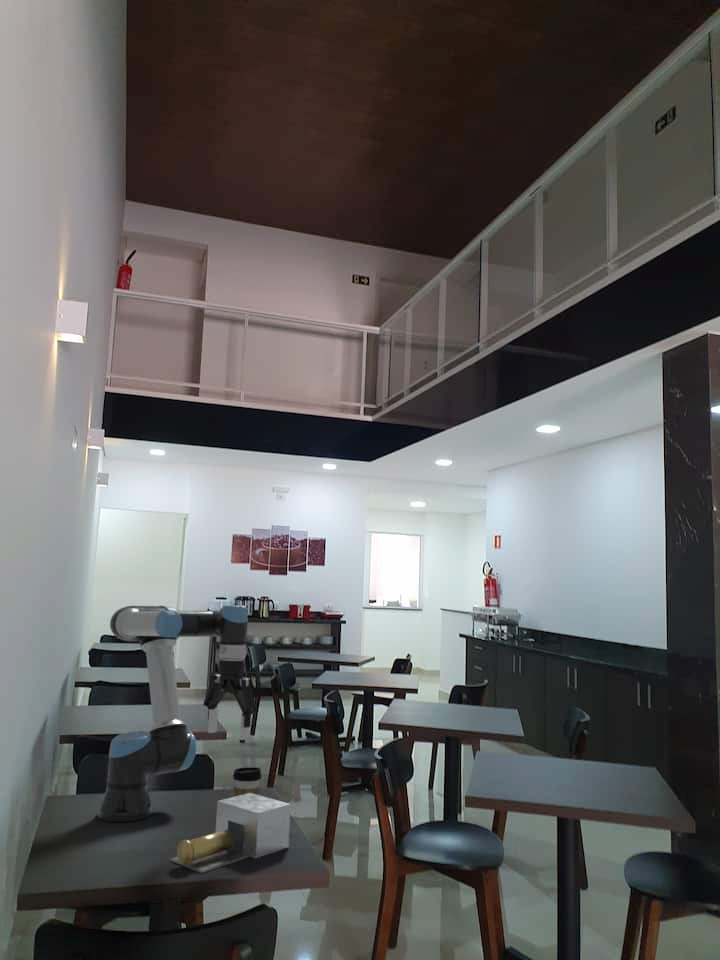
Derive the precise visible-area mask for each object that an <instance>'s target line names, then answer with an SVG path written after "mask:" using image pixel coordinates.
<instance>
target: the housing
mask: <svg viewBox="0 0 720 960" xmlns="http://www.w3.org/2000/svg"><path fill="white" fill-rule="evenodd" d="M290 822H291V803H288V802H284V801H281V800H277V799H274V798H271V797H267V796H263V795H261V794H258V795H256V794H253V793H247V794H243V795H239V796H235V797H234V796H232V797H228V798H224V799H220V800H217V802H216V820H215V833H216V832H219V831H223V830H229V831H230V832H231V834H232V836H233V845H232V847H231V848H230V849H229V850H226V851H222V852H219V853H216V854H213V855H210V856H207V857H204V858H200V859H197V860H194V861H192V862H191V863H190V864H188V865H183V864H181V863H180V861H179V859H178V856H174V857H170V862H172V863H174V864H177V865H180V866H182V867H184V868H187V869H190V870H192V871H194V872H197V873H199V874H204V873H207V872H210V871H213V870H216V869H217V868H222V867H224V866H227V865H231V864H233V863H235V862H238V861H241V860H245V859H248V858H254V859H258V857H259V858H262V857H264V855H265V856H267V854H268V855H270V853H271V854H274V853H276V852H279V851H282V850H284V849H287V848H290V825H291V824H290ZM261 856H262V857H261Z"/></svg>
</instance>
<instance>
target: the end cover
mask: <svg viewBox="0 0 720 960" xmlns="http://www.w3.org/2000/svg"><path fill="white" fill-rule="evenodd" d="M232 845H233V836H232V834H231V832H230V831H229V830H223V831H219V832H216V831H215V832H213V833H210V834H206V835H205V834H204V835H202V836H199V837H195V838H192V839H189V840H188V839H182V840H180V841H179V842H178V844H177V848H176V855H177V856H178V859H179V861H180V863H181V864H183V865H188V864H190V863H191V862H192V861H194V860H197V859H200V858H204V857H207V856H210V855H213V854H216V853H219V852H222V851H226V850H229V849H230V848H231V847H232ZM177 856H176V857H177Z"/></svg>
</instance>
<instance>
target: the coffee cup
mask: <svg viewBox="0 0 720 960" xmlns="http://www.w3.org/2000/svg"><path fill="white" fill-rule="evenodd" d="M261 771H262V770H261V768H260V767H256V766H255V767H251V766H250V767H249V766H248V767H247V766H246V767H237V768H235V769H234V771H233V774H232V779H233V781H234V782H233V783H234V785H233V797H235V796H239V795H243V794H247V793H253V794H256V795H260V794H259V793H260V780H261V779H262V773H261Z"/></svg>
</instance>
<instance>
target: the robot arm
mask: <svg viewBox="0 0 720 960" xmlns="http://www.w3.org/2000/svg"><path fill="white" fill-rule="evenodd" d="M109 621H110V622H109V628H110V630H111V633H112V634H113V635H114V636H115V637H116V638H118V639H119V640H122V641H124V642H125V641H126V642H139V644H140V649H141V651H143V652H144V653H145V655H146V665H147V675H148V685H149V692H150V693H149V695H150V703H151V704H150V705H151V716H152V724H153V725H152V727H151V728H150V730H148V731H147V730H146V731H145V730H138V731H129V732H124V733H121V734H118V735H116V736H115V737H114V738H113V739H112V740H111V742H110V747H109V751H108V766H107V779H106V780H107V781H106V790H105V793H104V795H103V797H102V800H101V803H100V806H99V808H98V815H97V816H98V818H99V819H100V820H102V821H106V822H110V823H111V822H112V823H128V822H136V821H139V820H144V819H147V818H148V817H150V816H151V814H152V803H151V799H150V795H149V789H148V777H149V776H155V775H162V774H168V773H177V772H180V771H184V770H185V771H186V769H188V768H190V767H191V765H192V764H193V762H194V759H195V757H196V753H197V740H196V739H197V738H196V736H195V734H194V732H192V731H190V730H188V728H187V724H186V723H185V722H184V721H183V720H182V718H181V712H180V711H181V710H180V704H179V703H180V702H179V701H180V700H179V694H178V685H177V684H178V683H177V675H176V670H175V669H176V668H175V660H174V651H173V648H174V647H175V646H176V645H177V640H178V639H179V638H182V637H183V638H187V637H189V638H191V637H192V638H193V637H196V638H197V637H200V638H201V637H203V638H205V637H218V638H220V639H219V640H220V641H219V656H218V658H220V659H219V661H218V670H217V671H218V673H219V674H217V673H216V674H213V675H212V677H211V683H210V686H209V688H208V690H207V693H206V695H205V698H204V701H203V706H204V707H207V709H208V711H207V720H208V725H207V728H208V729H207V733H208V734H213V733H217V732H218V715H219V707H218V705H219V704H220V702H221V701H222V699H223V697H224V696H225V695H226V693H229V694H232V695H233V696H234V697H235V699H236V701H237V704H238V706H239V708H240V710H241V712H242V714H241V715H240V722H239V725H240V726H239V727H240V728H239V741H244V740H250V739H249V738H250V727H251V723H252V715H254V714H257V712H258V710H257V706H256V700H255V698H254V697H255V696H254V695H253V690H252V687H251V686H252V685H251V683H252V682H251V678H249V677H246V678H243V674H244V673H246V661H245V659H246V656H247V655H246V654H247V653H246V652H247V651H246V650H247V636H248V635H247V634H248V622H249V617H248V608H247V606H246V605H235V604H234V605H233V604H232V605H229V604H225V605H223V606H222V608H221V611H219V610H215V609H214V610H177V609H175V608H174V607H171V606H165V605H129V606H128V605H127V606H123V607H121V608H119V609H118V610H116V611H115V612H114V613H113V614H112V616H111V618H110V620H109Z"/></svg>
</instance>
